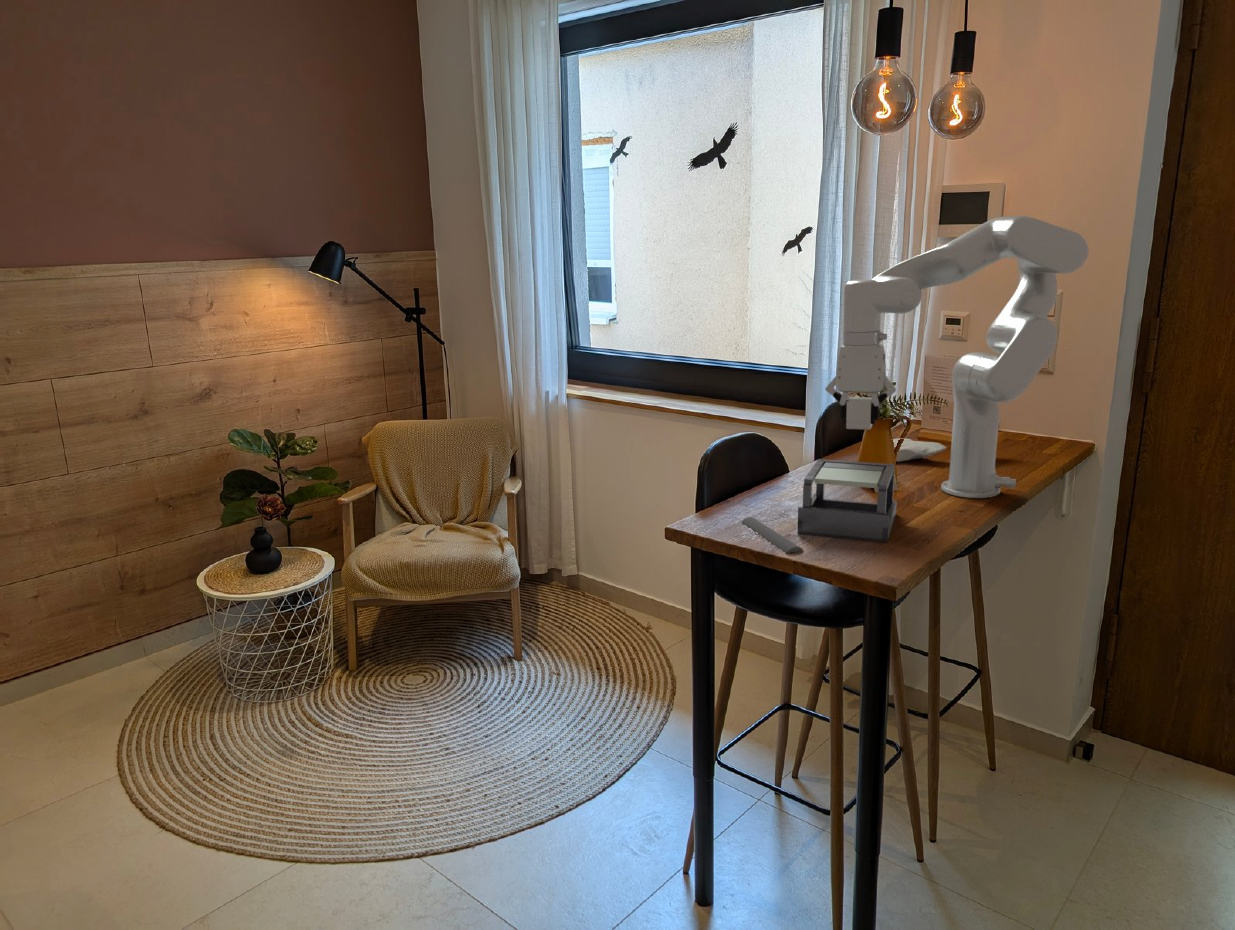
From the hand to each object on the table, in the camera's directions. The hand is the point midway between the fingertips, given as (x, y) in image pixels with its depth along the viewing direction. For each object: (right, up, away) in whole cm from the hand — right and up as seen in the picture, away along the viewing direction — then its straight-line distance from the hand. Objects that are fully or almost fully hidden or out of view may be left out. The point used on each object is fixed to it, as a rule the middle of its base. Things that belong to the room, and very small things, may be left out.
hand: (859, 421), depth 193 cm
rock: (+21, -8, +40) cm, 46 cm away
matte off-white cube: (0, -1, 0) cm, 1 cm away
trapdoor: (-5, -13, -13) cm, 19 cm away
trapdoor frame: (-5, -21, -10) cm, 24 cm away
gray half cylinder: (-22, -24, -17) cm, 37 cm away
